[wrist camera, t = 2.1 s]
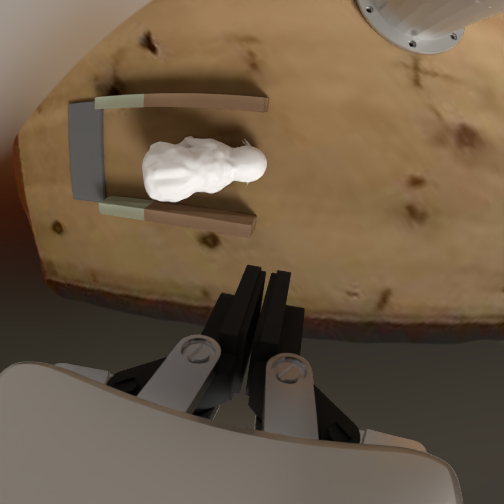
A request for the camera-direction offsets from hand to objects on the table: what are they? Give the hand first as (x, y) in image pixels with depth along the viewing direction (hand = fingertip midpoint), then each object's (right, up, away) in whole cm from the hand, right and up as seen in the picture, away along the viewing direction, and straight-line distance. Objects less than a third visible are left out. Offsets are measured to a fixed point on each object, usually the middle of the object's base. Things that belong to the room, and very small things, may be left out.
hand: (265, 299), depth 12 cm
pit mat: (-23, +15, +23) cm, 36 cm away
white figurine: (-4, +12, +21) cm, 25 cm away
